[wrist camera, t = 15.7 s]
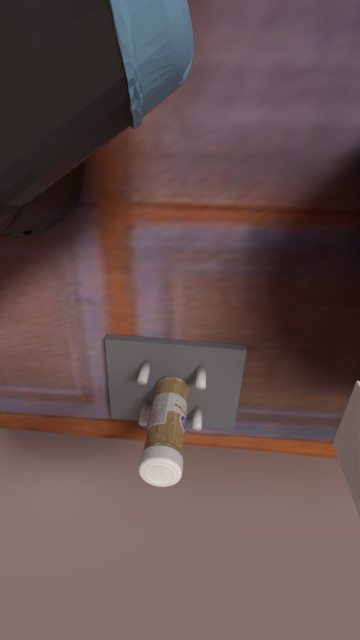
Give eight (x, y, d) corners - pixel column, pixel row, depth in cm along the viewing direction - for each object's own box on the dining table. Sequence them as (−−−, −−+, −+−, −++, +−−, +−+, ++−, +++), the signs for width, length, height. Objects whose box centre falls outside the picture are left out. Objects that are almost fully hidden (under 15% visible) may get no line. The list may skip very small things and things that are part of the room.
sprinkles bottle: (195, 393, 47) (190, 482, 35) (167, 404, 49) (153, 493, 37) (178, 369, 45) (167, 454, 34) (149, 381, 47) (129, 467, 35)
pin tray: (113, 412, 52) (104, 437, 48) (107, 333, 45) (96, 355, 41) (233, 423, 51) (234, 449, 47) (246, 345, 44) (249, 367, 40)
